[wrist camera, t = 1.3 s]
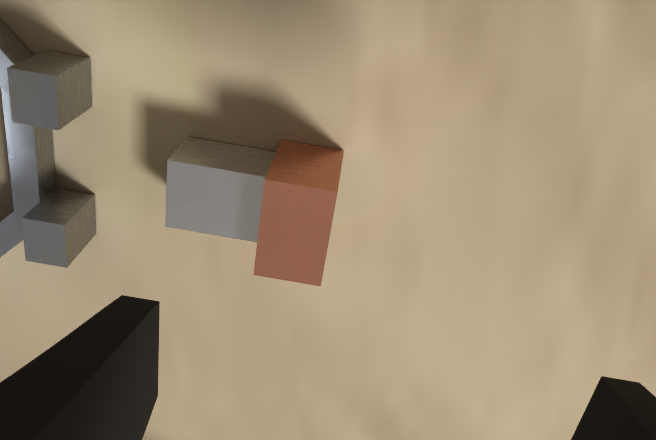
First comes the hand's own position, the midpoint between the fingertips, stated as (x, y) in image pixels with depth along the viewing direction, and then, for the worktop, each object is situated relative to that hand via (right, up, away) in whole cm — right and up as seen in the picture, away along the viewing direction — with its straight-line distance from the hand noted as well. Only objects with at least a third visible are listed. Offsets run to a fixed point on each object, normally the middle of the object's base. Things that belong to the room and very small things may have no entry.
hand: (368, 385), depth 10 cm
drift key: (-3, +4, +8) cm, 9 cm away
